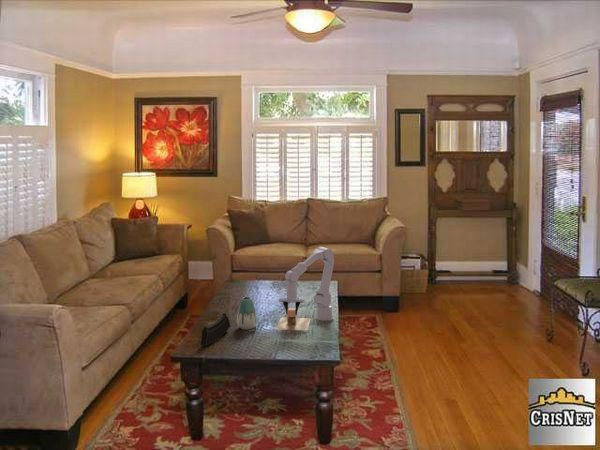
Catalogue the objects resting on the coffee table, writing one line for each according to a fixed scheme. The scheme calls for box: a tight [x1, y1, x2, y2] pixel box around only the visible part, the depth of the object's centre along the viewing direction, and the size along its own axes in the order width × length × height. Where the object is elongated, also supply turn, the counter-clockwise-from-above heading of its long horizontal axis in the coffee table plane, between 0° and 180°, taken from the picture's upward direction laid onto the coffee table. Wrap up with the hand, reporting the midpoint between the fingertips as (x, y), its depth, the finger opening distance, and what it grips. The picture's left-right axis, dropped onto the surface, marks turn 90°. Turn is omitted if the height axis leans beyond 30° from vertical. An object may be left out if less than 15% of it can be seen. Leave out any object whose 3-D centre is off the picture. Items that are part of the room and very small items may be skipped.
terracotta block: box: [286, 307, 297, 318], centre depth 354 cm, size 5×5×4 cm
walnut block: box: [286, 316, 297, 325], centre depth 354 cm, size 5×5×4 cm
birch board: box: [275, 316, 312, 331], centre depth 355 cm, size 18×24×1 cm
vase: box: [236, 296, 258, 331], centre depth 349 cm, size 12×12×18 cm
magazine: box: [200, 313, 231, 347], centre depth 330 cm, size 17×3×30 cm
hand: (291, 314), depth 354 cm, fingers closed on terracotta block, 4 cm apart
